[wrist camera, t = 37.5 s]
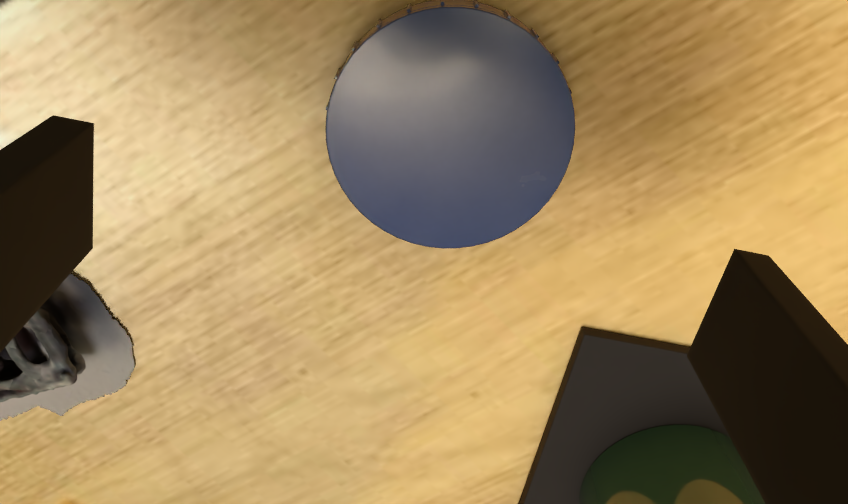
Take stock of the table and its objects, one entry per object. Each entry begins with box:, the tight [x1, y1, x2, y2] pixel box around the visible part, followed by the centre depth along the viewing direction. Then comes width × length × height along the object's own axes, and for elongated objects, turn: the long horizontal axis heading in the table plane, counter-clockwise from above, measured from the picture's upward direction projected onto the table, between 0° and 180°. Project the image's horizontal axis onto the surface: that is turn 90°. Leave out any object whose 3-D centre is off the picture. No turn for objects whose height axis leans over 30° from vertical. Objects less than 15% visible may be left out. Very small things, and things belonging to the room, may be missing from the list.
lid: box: [326, 0, 575, 248], centre depth 25 cm, size 8×8×2 cm
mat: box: [519, 327, 730, 504], centre depth 33 cm, size 14×12×1 cm
